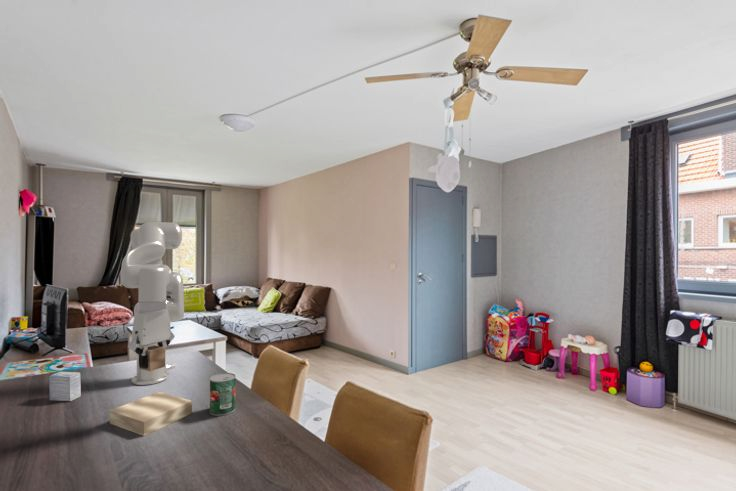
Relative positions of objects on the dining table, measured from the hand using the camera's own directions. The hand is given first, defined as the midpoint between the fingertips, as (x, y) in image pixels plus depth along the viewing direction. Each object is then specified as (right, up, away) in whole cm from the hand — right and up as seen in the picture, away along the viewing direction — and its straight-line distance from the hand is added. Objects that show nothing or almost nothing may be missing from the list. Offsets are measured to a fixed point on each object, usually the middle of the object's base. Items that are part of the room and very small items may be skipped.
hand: (152, 364), depth 119 cm
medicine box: (-38, -17, +14) cm, 44 cm away
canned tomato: (+19, -17, +7) cm, 27 cm away
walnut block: (0, -1, 0) cm, 1 cm away
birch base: (0, -17, 0) cm, 17 cm away
